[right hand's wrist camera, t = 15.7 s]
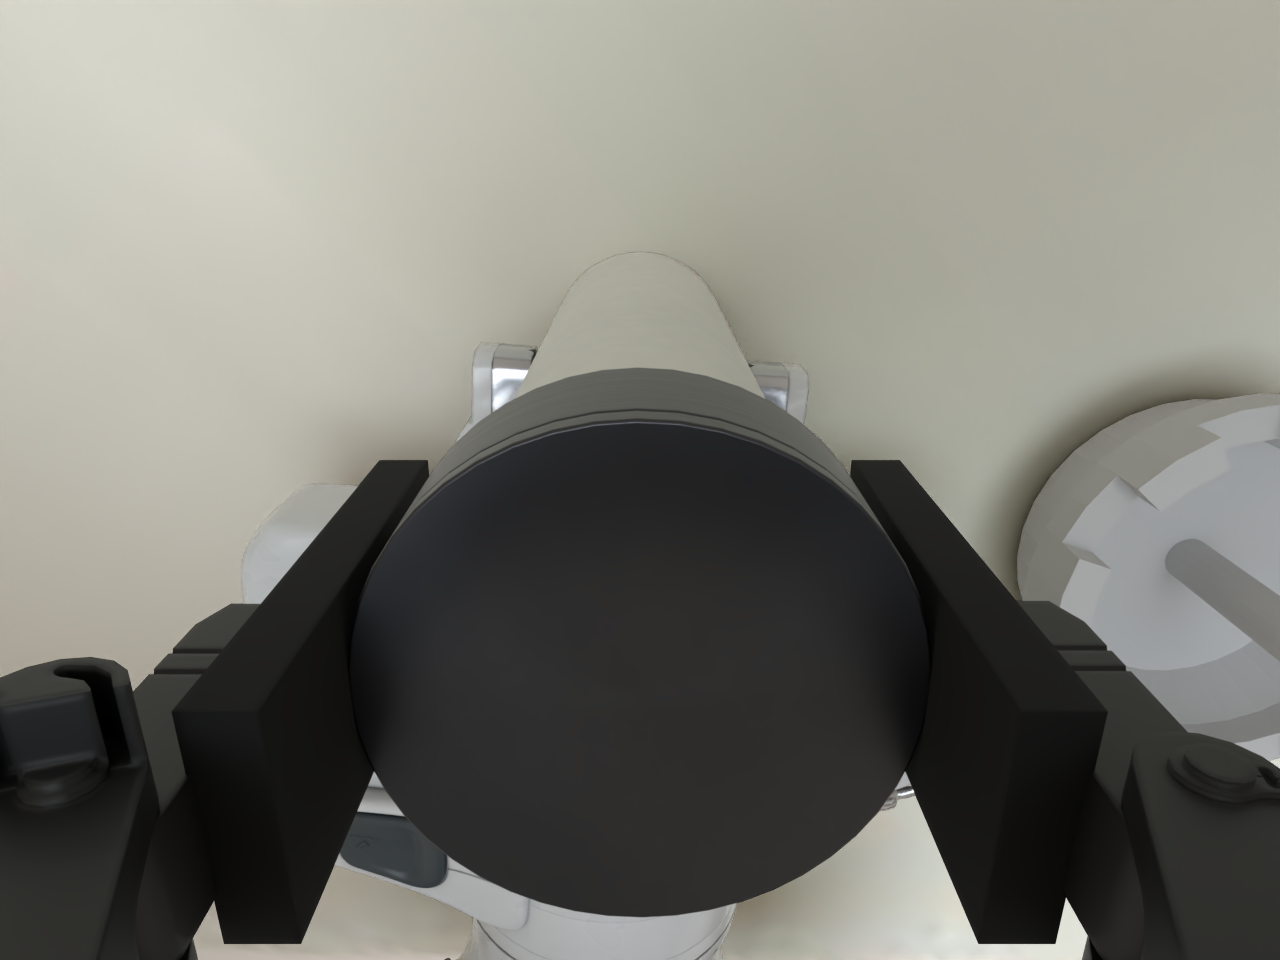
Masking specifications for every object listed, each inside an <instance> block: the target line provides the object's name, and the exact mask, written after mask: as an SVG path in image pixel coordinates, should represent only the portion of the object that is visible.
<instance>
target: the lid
mask: <svg viewBox="0 0 1280 960" xmlns="http://www.w3.org/2000/svg"><path fill="white" fill-rule="evenodd" d="M931 668H932V657H931V647H930V637H929V628H928V625H927V621H926V617H925V613H924V609H923V606H922V602H921V598H920V595H919V593H918V590H917V588H916V586H915V584H914V581H913V579H912V577H911V574H910V572H909V570H908V568H907V565H906V563H905V562H904V560H903V559H902V557H901V555H900V554H899V552H898V551H897V549H896V548H895V546H894V544H893V543H892V541H891V540H890V538H889V537H888V535H887V533H886V532H885V530H884V529H883V527H882V526H881V524H880V523H879V521H878V519H877V518H876V516H875V515H874V513H873V512H872V510H871V508H870V507H869V505H868V504H867V502H866V501H865V499H864V498H863V496H862V494H861V493H860V491H859V490H858V488H857V487H856V485H855V483H854V482H853V480H852V479H851V477H850V476H849V474H848V473H847V471H846V469H845V468H844V466H843V465H842V463H841V462H840V461H839V460H838V459H837V458H836V456H835V455H834V454H833V453H832V452H831V451H830V450H829V448H828V447H827V446H826V445H825V444H824V443H823V441H822V440H821V439H819V438H818V437H817V436H816V435H815V434H814V433H813V432H811V431H810V430H809V429H808V428H807V427H806V426H805V425H803V424H802V423H801V422H800V421H799V420H798V419H796V418H795V417H793V416H792V415H790V414H789V413H787V412H786V411H784V410H783V409H781V408H780V407H778V406H777V405H775V404H773V403H772V402H770V401H769V400H767V399H764V398H762V397H760V396H758V395H756V394H754V393H752V392H750V391H748V390H746V389H744V388H741V387H739V386H736V385H733V384H730V383H727V382H724V381H721V380H718V379H715V378H712V377H709V376H705V375H699V374H694V373H689V372H683V371H678V370H673V369H655V368H624V369H610V370H600V371H595V372H591V373H586V374H581V375H576V376H571V377H567V378H564V379H561V380H558V381H555V382H553V383H550V384H547V385H544V386H541V387H538V388H535V389H533V390H531V391H529V392H527V393H525V394H523V395H521V396H519V397H517V398H515V399H513V400H511V401H509V402H507V403H506V404H504V405H503V406H501V407H500V408H498V409H497V410H495V411H494V412H492V413H491V414H489V415H488V416H487V417H485V418H484V419H482V420H481V421H479V422H478V423H477V424H476V425H475V426H474V427H472V428H471V429H470V430H469V431H468V432H467V433H466V434H465V435H464V436H463V437H461V438H460V439H459V440H458V441H457V442H456V443H455V444H454V445H453V446H452V447H451V449H450V450H449V451H448V452H447V454H446V455H445V456H444V457H443V458H442V460H441V461H440V462H439V463H438V464H437V466H436V467H435V468H434V470H433V471H432V473H431V474H430V476H429V478H428V479H427V481H426V482H425V484H424V485H423V487H422V488H421V490H420V492H419V493H418V495H417V496H416V498H415V499H414V501H413V503H412V504H411V506H410V507H409V509H408V510H407V512H406V514H405V515H404V517H403V518H402V520H401V521H400V523H399V525H398V526H397V528H396V529H395V531H394V532H393V534H392V535H391V537H390V539H389V540H388V542H387V544H386V545H385V547H384V549H383V550H382V552H381V553H380V555H379V557H378V558H377V560H376V562H375V563H374V565H373V567H372V568H371V571H370V573H369V576H368V578H367V580H366V583H365V585H364V588H363V590H362V592H361V595H360V597H359V600H358V603H357V607H356V611H355V616H354V620H353V624H352V628H351V632H350V642H349V654H348V676H349V684H350V691H351V699H352V706H353V713H354V719H355V724H356V728H357V732H358V735H359V738H360V740H361V743H362V745H363V748H364V750H365V753H366V756H367V758H368V761H369V763H370V765H371V766H372V768H373V770H374V772H375V774H376V775H377V777H378V779H379V781H380V782H381V784H382V786H383V788H384V790H385V791H386V792H387V794H388V795H389V796H390V798H391V799H392V800H393V802H394V803H395V804H396V806H397V807H398V808H399V810H400V811H401V812H402V814H403V815H404V816H405V817H406V818H407V819H408V820H409V821H410V822H411V823H412V824H413V825H414V826H415V827H416V828H417V829H418V831H419V832H420V833H421V834H422V835H423V836H424V837H425V838H426V839H427V840H429V841H430V842H431V843H432V844H434V845H435V846H436V847H437V848H439V849H440V850H441V851H442V852H444V853H445V854H446V855H447V856H449V857H450V858H451V859H452V860H454V861H455V862H457V863H459V864H460V865H462V866H463V867H465V868H467V869H468V870H470V871H471V872H473V873H474V874H476V875H478V876H479V877H481V878H483V879H485V880H487V881H489V882H491V883H493V884H495V885H497V886H499V887H502V888H504V889H506V890H508V891H510V892H512V893H515V894H518V895H521V896H523V897H526V898H529V899H532V900H535V901H537V902H540V903H543V904H547V905H551V906H555V907H559V908H564V909H568V910H572V911H576V912H583V913H590V914H597V915H604V916H619V917H659V916H676V915H683V914H689V913H695V912H702V911H708V910H712V909H716V908H720V907H724V906H728V905H731V904H735V903H739V902H743V901H745V900H748V899H751V898H753V897H756V896H758V895H761V894H764V893H766V892H769V891H772V890H774V889H776V888H778V887H780V886H782V885H784V884H786V883H788V882H790V881H792V880H794V879H796V878H798V877H800V876H802V875H804V874H805V873H807V872H808V871H810V870H811V869H813V868H814V867H816V866H817V865H819V864H821V863H822V862H824V861H825V860H827V859H828V858H830V857H831V856H832V855H834V854H835V853H836V852H837V851H838V850H840V849H841V848H842V847H843V846H844V845H846V844H847V843H848V842H849V841H850V840H852V839H853V838H854V837H855V836H856V835H857V834H858V833H859V832H860V831H861V830H862V829H863V828H864V827H865V826H866V825H867V824H868V823H869V821H870V820H871V819H872V818H873V817H874V816H875V815H876V814H877V813H878V812H879V810H880V809H881V808H882V806H883V805H884V804H885V802H886V801H887V799H888V798H889V797H890V795H891V794H892V793H893V791H894V790H895V788H896V787H897V786H898V784H899V782H900V780H901V778H902V776H903V774H904V772H905V771H906V769H907V767H908V765H909V763H910V761H911V759H912V757H913V755H914V752H915V749H916V747H917V744H918V741H919V738H920V736H921V733H922V730H923V727H924V721H925V714H926V708H927V701H928V694H929V686H930V678H931Z"/></svg>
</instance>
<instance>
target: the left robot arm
mask: <svg viewBox="0 0 1280 960" xmlns="http://www.w3.org/2000/svg"><path fill="white" fill-rule="evenodd" d="M537 352H538V348H537V347H536V346H524V345H512V344H500V343H487V342H481V344H480V345H479V346H478V348H477V349H476V350H475V353H474V358H473V365H472V416H471V417H470V419H469V420H468V422H467V424H466V425H465V427H464V428H463V430H462V432H461V433H460V435H459V436H458V438H457V440H456V441H455V443H456V442H457V441H458V440H459V439H460V438H461V437H463V436H464V435H465V434H466V433H467V432H468V431H469V430H470V429H471V428H472V427H474V426H475V425H476V424H477V423H478V422H479V421H481V420H482V419H484V418H485V417H487V416H488V415H489V414H491V413H492V412H494V411H495V410H497V409H498V408H500V407H501V406H503V405H504V404H506V403H507V402H509V401H511V400H513V399H514V398H515V396H516V394H517V392H518V390H519V388H520V386H521V384H522V382H523V380H524V378H525V376H526V374H527V372H528V370H529V368H530V366H531V364H532V362H533V360H534V358H535V356H536V354H537ZM747 363H748V365H749V367H750V369H751V371H752V373H753V375H754V377H755V379H756V381H757V383H758V385H759V387H760V389H761V391H762V393H763V395H764V397H765V399H767V400H769V401H770V402H772V403H773V404H775V405H777V406H778V407H780V408H781V409H783V410H784V411H786V412H787V413H789V414H790V415H792V416H793V417H795V418H796V419H798V420H799V421H800V422H801V423H802V424H803V425H804V420H805V413H806V406H807V399H808V391H809V384H808V373H807V372H806V371H805V370H804V368H803V367H802V366H801V364H789V363H775V362H757V361H747ZM455 443H454V444H455ZM454 444H453V445H454ZM357 487H358V486H353V485H338V484H324V483H313V484H308V485H305V486H303V487H301V488H300V489H298V490H297V491H296V492H295V493H294V494H292V495H291V496H290V497H289V498H288V499H287V500H286V501H284V502H283V503H282V504H281V505H280V506H279V507H278V508H276V509H275V510H274V511H273V512H272V513H271V514H270V515H269V516H268V518H267V519H266V520H265V521H264V522H263V523H262V524H261V525H260V527H259V528H258V529H257V531H256V532H255V533H254V534H253V536H252V537H251V539H250V540H249V542H248V544H247V546H246V548H245V551H244V553H243V557H242V563H241V582H242V594H243V603H244V604H261V603H262V602H263V600H264V599H265V598H266V597H267V596H268V594H269V593H270V592H271V591H272V590H273V588H274V587H275V586H276V585H277V583H278V582H279V581H280V580H281V579H282V577H283V576H284V575H285V574H286V573H287V571H288V570H289V569H290V568H291V567H292V565H293V564H294V563H295V562H296V561H297V559H298V558H299V557H300V556H301V555H302V553H303V552H304V551H305V550H306V549H307V547H308V546H309V545H310V544H311V542H312V541H313V540H314V539H315V538H316V536H317V535H318V534H319V533H320V532H321V530H322V529H323V528H324V527H325V526H326V524H327V523H328V522H329V521H330V520H331V518H332V517H333V516H334V515H335V514H336V512H337V511H338V510H339V509H340V508H341V506H342V505H343V504H344V503H345V501H346V500H347V499H348V498H349V497H350V495H351V494H352V493H353V492H354V491H355V489H356V488H357ZM912 796H915V793H914V791H913V788H912V786H911V784H910V781H909V779H908V777H907V774H906V772H904V774H903V776H902V778H901V780H900V782H899V784H898V786H897V787H896V788H895V790H894V791H893V793H892V794H891V795H890V797H889V798H888V799H887V801H886V802H885V804H884V805H883V806H882V808H881V809H880V810H879V811H884V810H889V809H893V808H894V807H895V806H896V804H897V799H903V798H909V797H912ZM335 866H338V867H341V868H345V869H348V870H351V871H355V872H358V873H361V874H365V875H368V876H371V877H374V878H377V879H380V880H383V881H387V882H389V883H392V884H395V885H398V886H401V887H404V888H407V889H409V890H412V891H415V892H417V893H420V894H422V895H425V896H428V897H430V898H432V899H435V900H437V901H439V902H442V903H444V904H446V905H449V906H451V907H453V908H455V909H457V910H459V911H461V912H463V913H465V914H467V915H469V916H471V917H473V925H472V930H471V934H470V937H469V940H468V943H467V945H466V948H465V950H464V952H463V954H462V955H461V956H460V957H459V958H458V959H456V960H723V957H722V951H721V945H722V943H723V941H724V939H725V937H726V935H727V933H728V931H729V929H730V926H731V923H732V920H733V917H734V914H735V910H736V907H737V903H735V904H731V905H728V906H724V907H720V908H716V909H712V910H708V911H702V912H695V913H689V914H683V915H676V916H659V917H619V916H604V915H597V914H590V913H583V912H576V911H572V910H568V909H564V908H559V907H555V906H551V905H547V904H543V903H540V902H537V901H535V900H532V899H529V898H526V897H523V896H521V895H518V894H515V893H512V892H510V891H508V890H506V889H504V888H502V887H499V886H497V885H495V884H493V883H491V882H489V881H487V880H485V879H483V878H481V877H479V876H478V875H476V874H474V873H473V872H471V871H470V870H468V869H467V868H465V867H463V866H462V865H460V864H459V863H457V862H455V861H454V860H452V859H451V858H450V857H449V856H447V855H446V854H445V853H444V852H442V851H441V850H440V849H439V848H437V847H436V846H435V845H434V844H432V843H431V842H430V841H429V840H427V839H426V838H425V837H424V836H423V835H422V834H421V833H420V832H419V831H418V829H417V828H416V827H415V826H414V825H413V824H412V823H411V822H410V821H409V820H408V819H407V818H406V817H405V816H404V815H403V814H402V812H401V811H400V810H399V808H398V807H397V806H396V804H395V803H394V802H393V800H392V799H391V798H390V796H389V795H388V794H387V792H386V791H385V790H384V788H383V786H382V784H381V782H380V781H379V779H378V777H377V775H376V774H375V772H374V773H373V775H372V778H371V780H370V782H369V785H368V787H367V790H366V792H365V794H364V797H363V799H362V801H361V804H360V806H359V808H358V811H357V813H356V815H355V818H354V820H353V822H352V825H351V827H350V830H349V832H348V834H347V837H346V839H345V841H344V844H343V846H342V848H341V851H340V853H339V855H338V858H337V860H336V863H335ZM445 960H451V959H450V958H447V959H445Z"/></svg>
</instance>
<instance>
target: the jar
mask: <svg viewBox="0 0 1280 960" xmlns="http://www.w3.org/2000/svg"><path fill="white" fill-rule="evenodd" d="M624 368H655V369H673V370H678V371H683V372H689V373H694V374H699V375H705V376H709V377H712V378H715V379H718V380H721V381H724V382H727V383H730V384H733V385H736V386H739V387H741V388H744V389H746V390H748V391H750V392H752V393H754V394H756V395H758V396H760V397H762V398H764V399H765V397H764V395H763V393H762V391H761V389H760V387H759V385H758V383H757V381H756V379H755V377H754V375H753V373H752V371H751V369H750V367H749V365H748V363H747V361H746V359H745V357H744V355H743V353H742V351H741V349H740V347H739V345H738V343H737V341H736V339H735V337H734V335H733V333H732V331H731V329H730V327H729V325H728V323H727V321H726V319H725V317H724V315H723V313H722V311H721V309H720V307H719V305H718V303H717V301H716V299H715V297H714V295H713V294H712V292H711V290H710V289H709V287H708V286H707V285H706V283H705V282H704V281H703V280H702V279H701V278H700V277H699V276H698V275H697V274H696V273H695V272H694V271H693V270H691V269H690V268H688V267H687V266H685V265H684V264H683V263H680V262H678V261H676V260H674V259H672V258H670V257H667V256H664V255H660V254H655V253H649V252H631V253H624V254H620V255H616V256H613V257H610V258H607V259H605V260H603V261H601V262H599V263H597V264H595V265H594V266H592V267H591V268H590V269H588V270H587V271H586V272H585V273H583V274H582V275H581V276H580V277H579V278H578V279H577V280H576V282H575V283H574V284H573V285H572V286H571V288H570V289H569V291H568V293H567V294H566V296H565V298H564V300H563V302H562V304H561V306H560V308H559V310H558V312H557V314H556V316H555V318H554V320H553V322H552V324H551V326H550V328H549V330H548V332H547V334H546V336H545V338H544V340H543V342H542V344H541V346H540V348H539V350H538V352H537V354H536V356H535V358H534V360H533V362H532V364H531V366H530V368H529V370H528V372H527V374H526V376H525V378H524V380H523V382H522V384H521V386H520V388H519V390H518V392H517V394H516V396H515V398H517V397H519V396H521V395H523V394H525V393H527V392H529V391H531V390H533V389H535V388H538V387H541V386H544V385H547V384H550V383H553V382H555V381H558V380H561V379H564V378H567V377H571V376H576V375H581V374H586V373H591V372H595V371H600V370H610V369H624ZM515 398H514V399H515Z"/></svg>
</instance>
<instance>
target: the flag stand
mask: <svg viewBox="0 0 1280 960" xmlns="http://www.w3.org/2000/svg"><path fill="white" fill-rule="evenodd" d="M1017 579H1018V585H1019V589H1020V593H1021V597H1022V601H1050V602H1052V603H1053V604H1055V605H1057V606H1058V607H1060V608H1062V609H1064V610H1065V611H1067V612H1069V613H1071V614H1072V615H1074V616H1076V617H1077V618H1079V619H1081V620H1083V621H1084V622H1085V623H1086V624H1087V625H1088V626H1089V627H1090V628H1091V629H1092V630H1093V631H1094V632H1095V633H1096V634H1097V635H1098V637H1099V638H1100V639H1101V640H1102V641H1103V642H1104V643H1105V644H1106V645H1107V650H1108V651H1112V652H1113V653H1114V654H1115V655H1116V656H1117V657H1118V658H1119V659H1120V660H1121V661H1122V662H1123V663H1124V664H1125V665H1126V671H1131V672H1132V673H1133V674H1134V675H1135V676H1136V677H1137V678H1138V679H1139V680H1140V681H1141V682H1142V684H1143V685H1144V686H1145V687H1146V688H1147V689H1148V690H1149V691H1150V692H1151V693H1152V694H1153V695H1154V696H1155V697H1156V698H1157V700H1158V701H1159V702H1160V703H1161V704H1162V705H1163V706H1164V707H1165V708H1166V709H1167V710H1168V711H1169V712H1170V713H1171V715H1172V716H1173V717H1174V718H1175V719H1176V720H1177V721H1178V722H1179V723H1180V724H1181V725H1182V726H1183V727H1184V728H1185V729H1186V731H1187V732H1189V733H1200V734H1203V735H1207V736H1211V737H1214V738H1218V739H1222V740H1225V741H1229V742H1232V743H1234V744H1236V745H1239V746H1241V747H1243V748H1245V749H1247V750H1249V751H1252V752H1254V753H1256V754H1258V755H1260V756H1262V757H1264V758H1265V759H1267V760H1268V761H1271V760H1274V759H1278V758H1280V394H1277V393H1257V394H1251V395H1244V396H1238V397H1231V398H1225V399H1218V400H1213V399H1192V400H1185V401H1179V402H1172V403H1166V404H1161V405H1158V406H1155V407H1152V408H1149V409H1146V410H1143V411H1140V412H1137V413H1134V414H1131V415H1129V416H1127V417H1126V418H1124V419H1122V420H1120V421H1118V422H1116V423H1114V424H1112V425H1111V426H1109V427H1107V428H1105V429H1103V430H1101V431H1100V432H1098V433H1097V434H1096V435H1094V436H1093V437H1092V438H1091V439H1089V440H1088V441H1087V442H1085V443H1084V444H1083V445H1081V446H1080V447H1079V448H1077V449H1076V450H1075V451H1074V452H1073V453H1072V454H1071V455H1070V456H1069V457H1068V458H1067V459H1066V460H1065V461H1064V462H1063V463H1062V464H1061V465H1060V466H1059V467H1058V469H1057V470H1056V471H1055V472H1054V473H1053V474H1052V475H1051V476H1050V478H1049V479H1048V481H1047V483H1046V484H1045V486H1044V487H1043V489H1042V490H1041V492H1040V493H1039V495H1038V496H1037V498H1036V499H1035V501H1034V503H1033V505H1032V508H1031V510H1030V512H1029V515H1028V517H1027V519H1026V522H1025V524H1024V526H1023V530H1022V534H1021V539H1020V544H1019V549H1018V554H1017Z"/></svg>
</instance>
